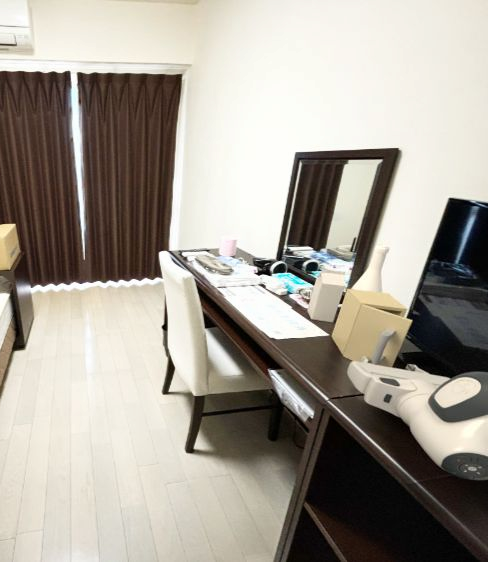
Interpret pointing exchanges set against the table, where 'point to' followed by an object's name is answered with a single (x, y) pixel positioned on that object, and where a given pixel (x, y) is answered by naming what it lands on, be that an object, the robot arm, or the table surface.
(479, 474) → the robot arm
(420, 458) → the table surface
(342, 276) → the milk carton
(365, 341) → the fridge door
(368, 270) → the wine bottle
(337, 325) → the fridge
